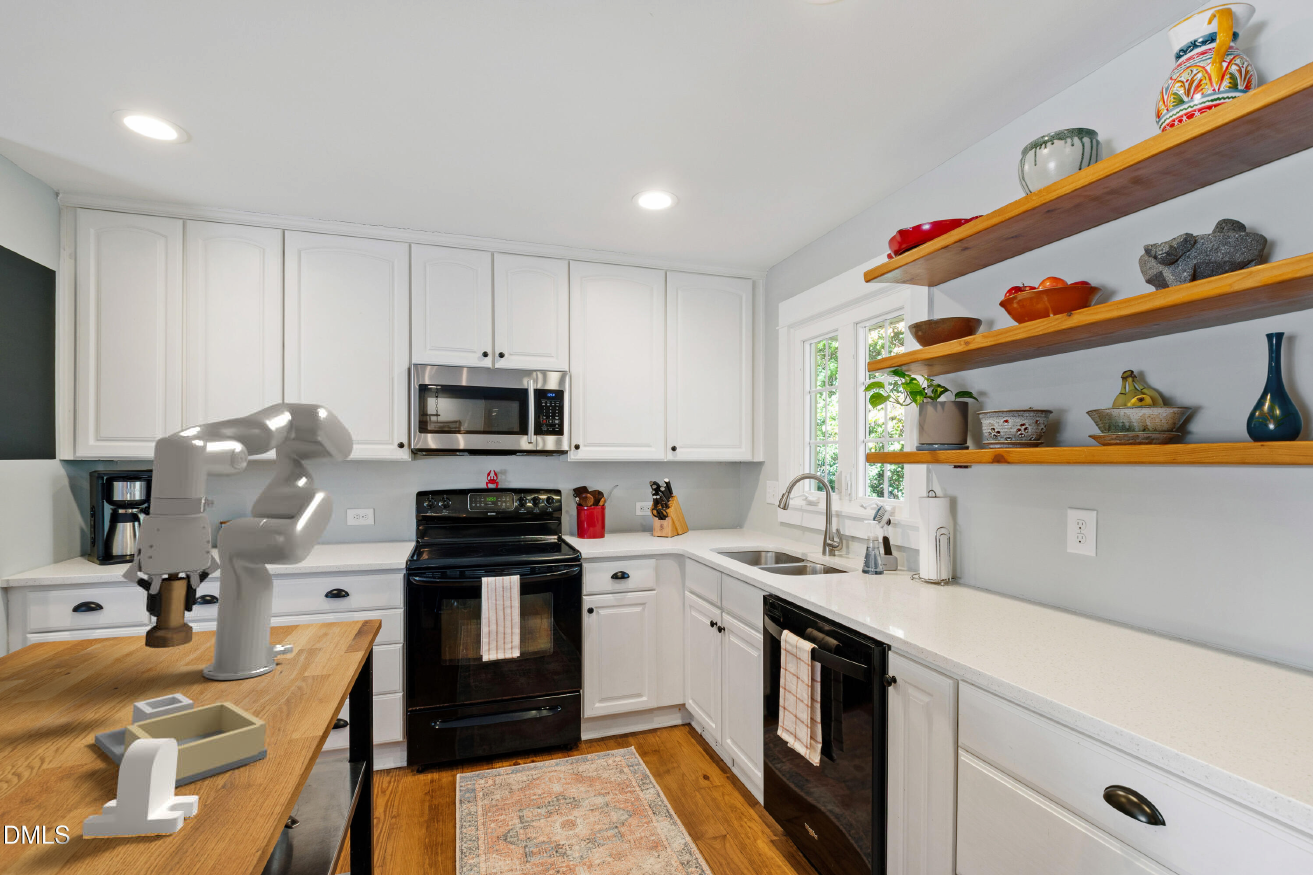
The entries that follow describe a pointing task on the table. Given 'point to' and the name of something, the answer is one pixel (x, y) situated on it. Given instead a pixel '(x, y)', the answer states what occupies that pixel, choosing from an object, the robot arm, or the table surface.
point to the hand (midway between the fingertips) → (171, 611)
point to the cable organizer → (144, 794)
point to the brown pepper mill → (171, 615)
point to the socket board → (192, 735)
